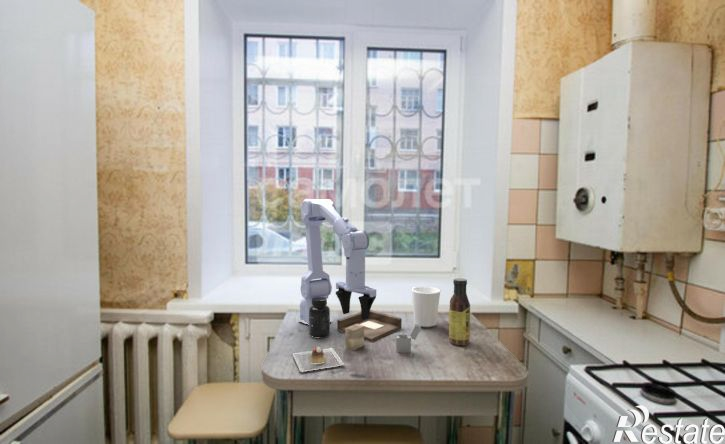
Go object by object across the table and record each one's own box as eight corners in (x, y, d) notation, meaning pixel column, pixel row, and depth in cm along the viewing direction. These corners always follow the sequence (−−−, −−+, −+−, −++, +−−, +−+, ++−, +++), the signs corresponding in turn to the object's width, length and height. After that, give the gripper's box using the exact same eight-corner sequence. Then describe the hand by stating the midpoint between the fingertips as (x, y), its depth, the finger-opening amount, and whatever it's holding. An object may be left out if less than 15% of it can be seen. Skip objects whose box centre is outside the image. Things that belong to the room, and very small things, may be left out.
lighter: (396, 352, 112) (397, 325, 111) (395, 350, 113) (396, 323, 113) (420, 352, 112) (421, 325, 111) (419, 349, 113) (420, 323, 113)
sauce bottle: (470, 347, 115) (471, 282, 114) (448, 345, 117) (450, 281, 115) (468, 339, 122) (470, 277, 120) (448, 337, 123) (449, 276, 121)
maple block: (345, 347, 115) (345, 327, 114) (356, 342, 119) (356, 323, 118) (352, 350, 113) (352, 330, 112) (364, 345, 117) (364, 325, 116)
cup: (405, 322, 137) (406, 287, 136) (428, 319, 141) (429, 285, 140) (421, 332, 128) (421, 294, 127) (445, 327, 132) (446, 291, 131)
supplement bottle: (304, 334, 125) (304, 298, 124) (321, 329, 130) (321, 294, 129) (316, 340, 120) (316, 302, 119) (334, 334, 125) (334, 298, 124)
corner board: (337, 330, 129) (337, 320, 129) (368, 318, 141) (368, 309, 141) (371, 341, 119) (371, 330, 119) (401, 328, 131) (401, 318, 131)
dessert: (292, 357, 109) (291, 341, 109) (332, 351, 114) (332, 335, 113) (300, 376, 98) (300, 358, 98) (345, 368, 102) (345, 351, 102)
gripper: (328, 270, 116) (328, 314, 117) (365, 277, 106) (365, 325, 107) (344, 266, 121) (344, 308, 122) (381, 273, 111) (380, 318, 113)
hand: (355, 316), depth 115 cm, fingers open, 7 cm apart
